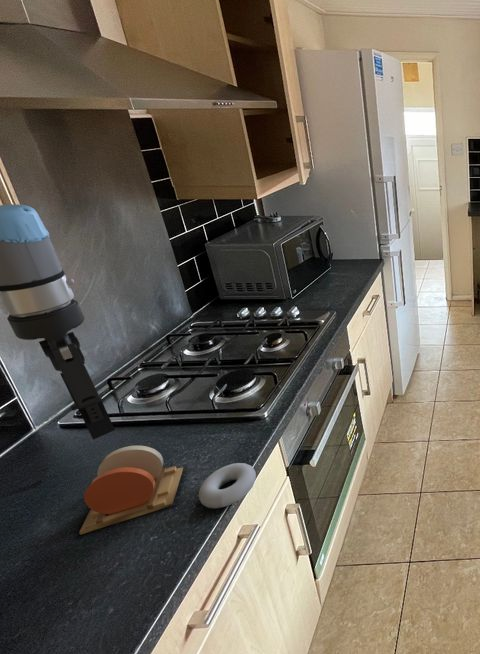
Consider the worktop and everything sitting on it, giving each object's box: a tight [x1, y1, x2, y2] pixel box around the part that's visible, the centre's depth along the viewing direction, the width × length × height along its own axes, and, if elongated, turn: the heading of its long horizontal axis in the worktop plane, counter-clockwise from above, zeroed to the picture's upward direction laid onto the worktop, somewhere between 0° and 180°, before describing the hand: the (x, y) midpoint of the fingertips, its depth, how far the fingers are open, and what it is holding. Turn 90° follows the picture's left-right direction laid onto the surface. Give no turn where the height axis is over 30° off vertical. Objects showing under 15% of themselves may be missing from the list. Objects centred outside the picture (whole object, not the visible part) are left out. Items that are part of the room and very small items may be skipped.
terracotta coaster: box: [83, 467, 155, 514], centre depth 80 cm, size 10×1×10 cm, turn 116°
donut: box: [198, 462, 257, 509], centre depth 86 cm, size 10×4×10 cm
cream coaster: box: [96, 445, 165, 480], centre depth 85 cm, size 10×1×10 cm, turn 116°
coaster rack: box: [78, 465, 184, 536], centre depth 84 cm, size 14×10×2 cm
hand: (94, 416), depth 72 cm, fingers open, 13 cm apart
